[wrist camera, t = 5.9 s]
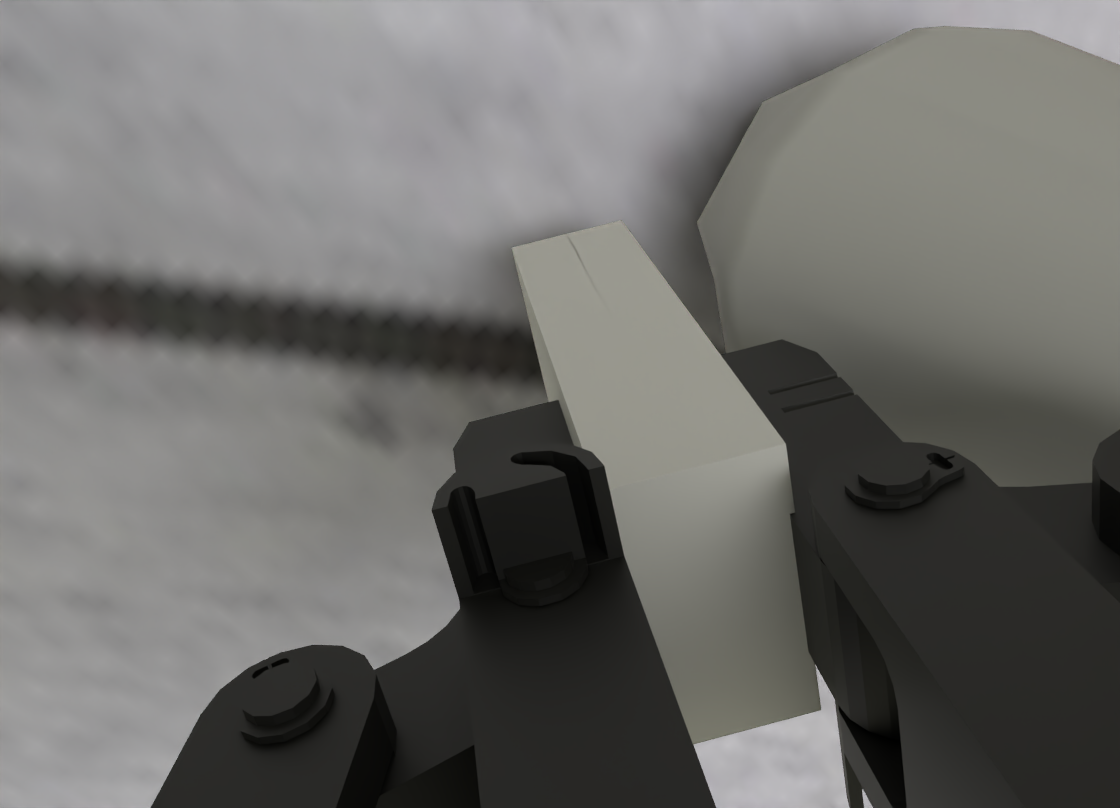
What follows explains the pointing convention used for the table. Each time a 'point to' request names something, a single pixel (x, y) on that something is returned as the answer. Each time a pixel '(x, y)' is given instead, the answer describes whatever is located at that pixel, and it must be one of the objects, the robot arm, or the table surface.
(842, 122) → the salt shaker
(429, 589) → the table surface
